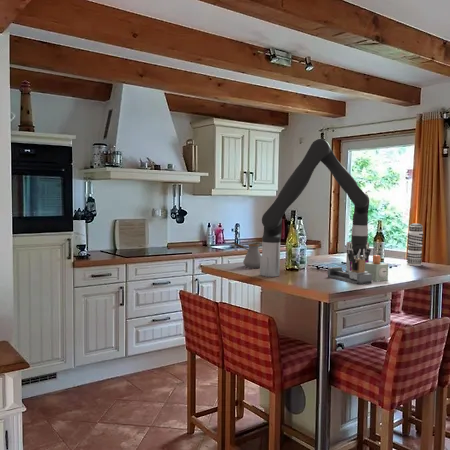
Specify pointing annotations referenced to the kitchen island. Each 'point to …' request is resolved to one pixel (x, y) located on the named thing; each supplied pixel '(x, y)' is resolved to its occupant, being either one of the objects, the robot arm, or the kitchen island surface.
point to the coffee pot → (251, 256)
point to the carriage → (358, 269)
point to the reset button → (376, 259)
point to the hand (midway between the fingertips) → (358, 269)
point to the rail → (359, 277)
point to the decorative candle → (415, 245)
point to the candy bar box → (349, 263)
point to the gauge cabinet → (377, 271)
